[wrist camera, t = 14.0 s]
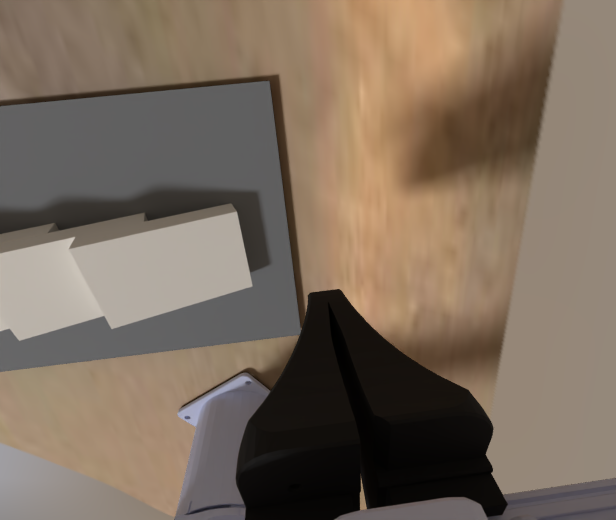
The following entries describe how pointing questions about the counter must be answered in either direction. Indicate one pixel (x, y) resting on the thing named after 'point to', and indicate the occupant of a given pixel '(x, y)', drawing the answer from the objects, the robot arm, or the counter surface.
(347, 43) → the counter surface
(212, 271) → the domino
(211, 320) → the mat
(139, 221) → the domino
